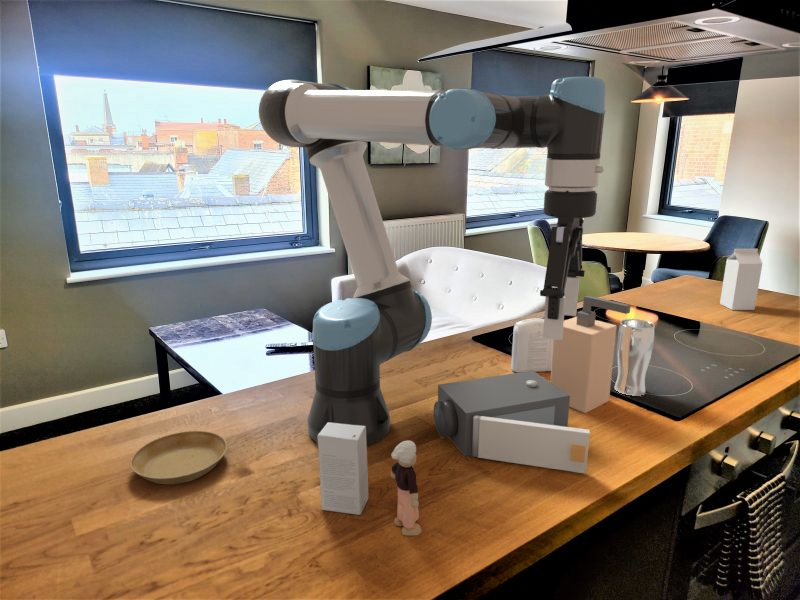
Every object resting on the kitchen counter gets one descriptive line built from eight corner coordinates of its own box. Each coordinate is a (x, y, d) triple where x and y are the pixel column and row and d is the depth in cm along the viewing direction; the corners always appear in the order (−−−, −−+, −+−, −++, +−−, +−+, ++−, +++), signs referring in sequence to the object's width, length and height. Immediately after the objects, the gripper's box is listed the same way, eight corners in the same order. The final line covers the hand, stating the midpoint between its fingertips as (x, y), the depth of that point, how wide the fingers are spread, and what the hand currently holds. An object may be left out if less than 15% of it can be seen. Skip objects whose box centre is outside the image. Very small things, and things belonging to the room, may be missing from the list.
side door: (470, 459, 91) (472, 420, 89) (472, 452, 93) (473, 415, 91) (586, 476, 86) (589, 436, 85) (585, 469, 88) (589, 429, 86)
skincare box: (369, 498, 82) (367, 425, 79) (360, 516, 78) (358, 440, 75) (330, 493, 84) (327, 421, 80) (320, 510, 80) (316, 435, 76)
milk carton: (754, 310, 174) (764, 250, 169) (731, 310, 174) (741, 250, 169) (741, 304, 181) (751, 246, 176) (719, 304, 181) (728, 246, 176)
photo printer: (550, 364, 132) (553, 315, 129) (557, 371, 128) (561, 320, 124) (508, 367, 131) (511, 317, 127) (514, 374, 126) (517, 322, 123)
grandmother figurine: (434, 533, 75) (435, 449, 71) (411, 545, 72) (411, 459, 69) (401, 504, 81) (400, 426, 77) (379, 514, 79) (377, 434, 75)
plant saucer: (158, 442, 99) (156, 429, 98) (240, 443, 98) (238, 430, 97) (114, 492, 84) (111, 477, 84) (209, 494, 84) (208, 478, 83)
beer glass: (620, 381, 122) (628, 316, 118) (652, 390, 118) (661, 323, 114) (606, 390, 118) (613, 323, 114) (639, 401, 113) (647, 331, 109)
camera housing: (452, 459, 92) (453, 412, 90) (426, 425, 103) (426, 383, 101) (566, 436, 99) (570, 392, 97) (530, 407, 110) (533, 367, 108)
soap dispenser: (548, 398, 114) (556, 295, 108) (572, 387, 119) (581, 288, 114) (604, 421, 105) (616, 309, 99) (628, 408, 110) (640, 301, 104)
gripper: (585, 196, 70) (572, 354, 76) (606, 184, 92) (595, 308, 97) (526, 194, 73) (517, 346, 79) (560, 183, 95) (551, 303, 100)
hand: (560, 326), depth 88 cm, fingers open, 12 cm apart
